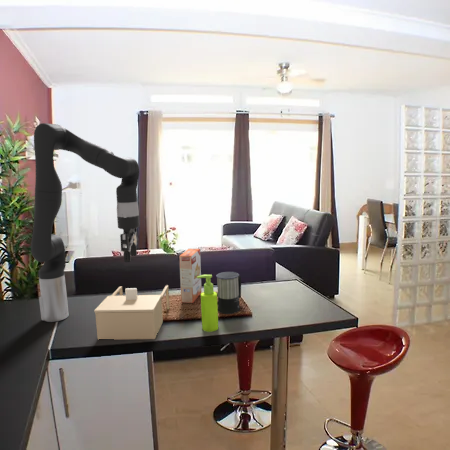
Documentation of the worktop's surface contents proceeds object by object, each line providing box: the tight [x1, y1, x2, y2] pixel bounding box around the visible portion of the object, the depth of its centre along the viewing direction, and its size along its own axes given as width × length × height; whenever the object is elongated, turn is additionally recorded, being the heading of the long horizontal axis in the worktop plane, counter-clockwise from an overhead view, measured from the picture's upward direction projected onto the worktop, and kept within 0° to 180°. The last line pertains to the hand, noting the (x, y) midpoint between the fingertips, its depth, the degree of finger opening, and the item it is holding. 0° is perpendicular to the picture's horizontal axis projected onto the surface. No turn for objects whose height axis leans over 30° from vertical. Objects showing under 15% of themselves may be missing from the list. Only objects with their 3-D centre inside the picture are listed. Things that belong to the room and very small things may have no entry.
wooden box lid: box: [94, 287, 163, 313], centre depth 141 cm, size 20×14×5 cm
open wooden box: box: [95, 284, 170, 341], centre depth 149 cm, size 20×28×10 cm
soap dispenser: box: [197, 274, 219, 333], centre depth 141 cm, size 6×7×20 cm
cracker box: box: [179, 248, 202, 304], centre depth 173 cm, size 14×6×21 cm, turn 168°
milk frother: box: [215, 271, 242, 315], centre depth 161 cm, size 14×16×15 cm
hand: (130, 258), depth 143 cm, fingers open, 8 cm apart
